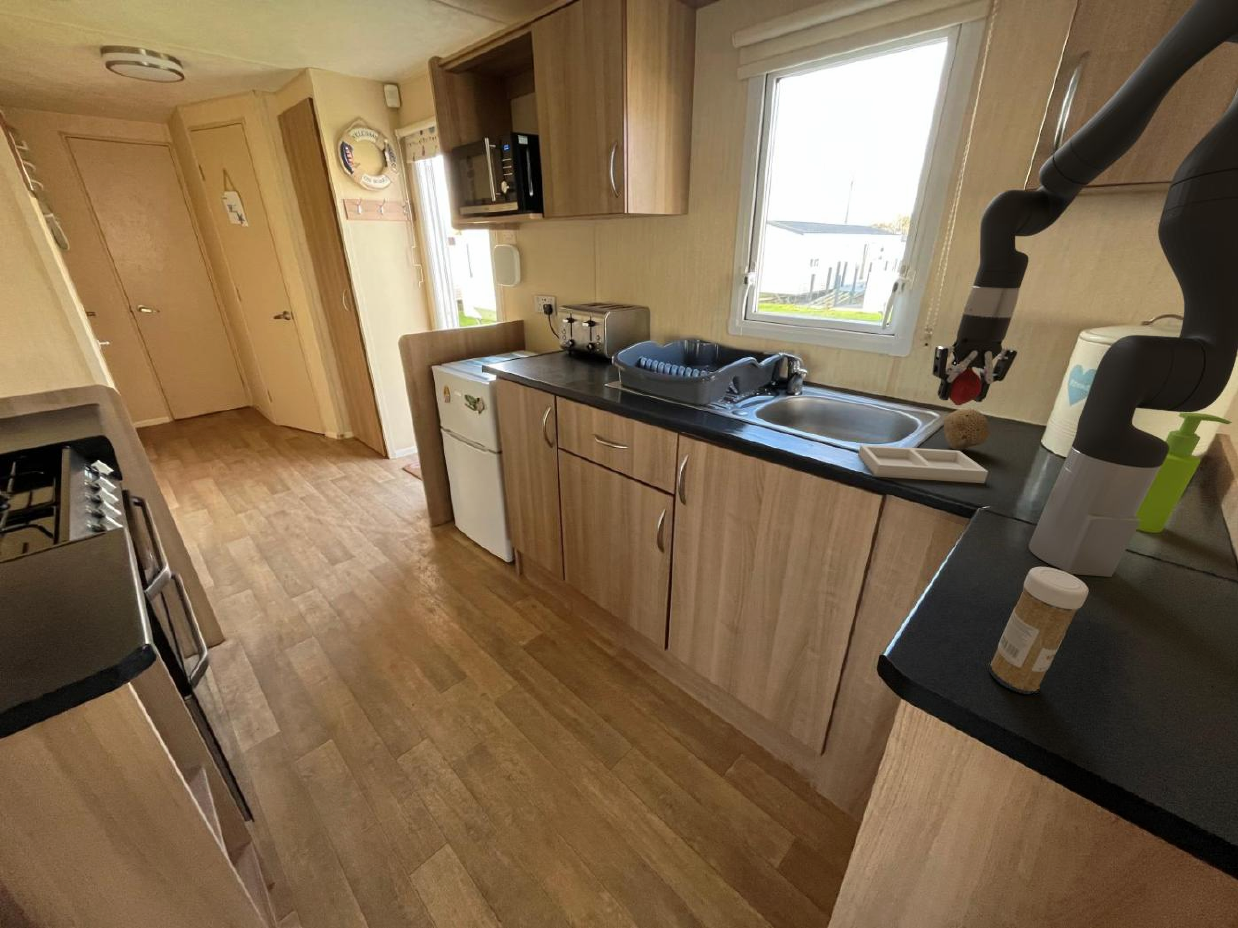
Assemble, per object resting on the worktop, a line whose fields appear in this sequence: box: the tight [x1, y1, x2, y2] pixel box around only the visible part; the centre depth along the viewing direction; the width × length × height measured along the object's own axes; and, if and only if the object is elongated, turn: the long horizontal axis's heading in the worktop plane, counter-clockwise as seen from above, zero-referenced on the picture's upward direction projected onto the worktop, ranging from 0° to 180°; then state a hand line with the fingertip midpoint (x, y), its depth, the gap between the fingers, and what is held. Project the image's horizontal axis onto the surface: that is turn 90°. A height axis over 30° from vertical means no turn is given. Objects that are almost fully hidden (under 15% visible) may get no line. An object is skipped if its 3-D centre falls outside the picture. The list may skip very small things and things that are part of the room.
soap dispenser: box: [1135, 412, 1233, 534], centre depth 80 cm, size 6×7×20 cm
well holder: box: [857, 444, 989, 484], centre depth 104 cm, size 11×21×3 cm, turn 84°
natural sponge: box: [943, 408, 991, 451], centre depth 112 cm, size 9×9×10 cm
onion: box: [949, 367, 982, 406], centre depth 96 cm, size 6×6×8 cm
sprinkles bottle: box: [989, 566, 1089, 692], centre depth 50 cm, size 5×5×14 cm
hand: (960, 399), depth 97 cm, fingers closed on onion, 5 cm apart
